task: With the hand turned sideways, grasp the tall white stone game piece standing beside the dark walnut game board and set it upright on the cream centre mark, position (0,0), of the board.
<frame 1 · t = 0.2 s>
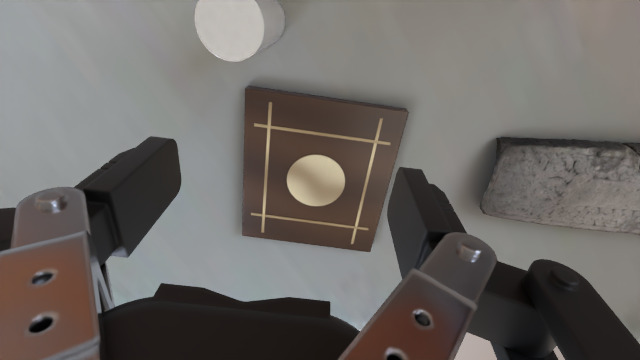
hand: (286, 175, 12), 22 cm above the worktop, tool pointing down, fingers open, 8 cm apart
stone piece: (261, 20, 29), on the worktop
game board: (316, 175, 36), on the worktop
stone slab: (614, 183, 35), on the worktop
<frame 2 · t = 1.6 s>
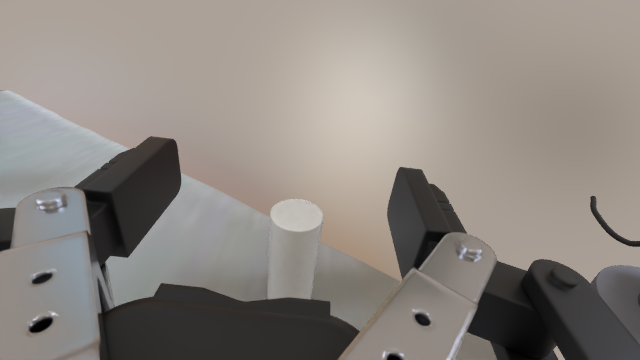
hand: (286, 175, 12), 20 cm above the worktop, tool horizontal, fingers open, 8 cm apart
stone piece: (289, 293, 31), on the worktop
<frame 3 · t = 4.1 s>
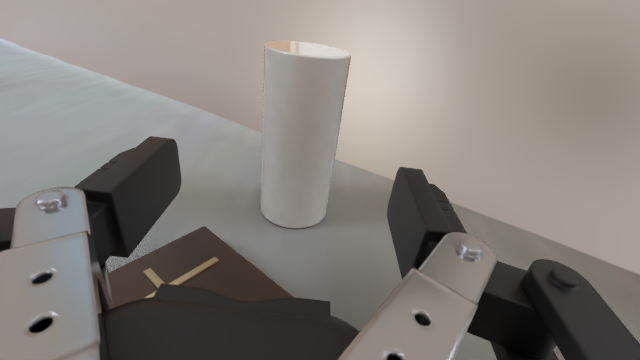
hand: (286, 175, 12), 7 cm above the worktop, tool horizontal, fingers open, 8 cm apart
stone piece: (293, 207, 21), on the worktop
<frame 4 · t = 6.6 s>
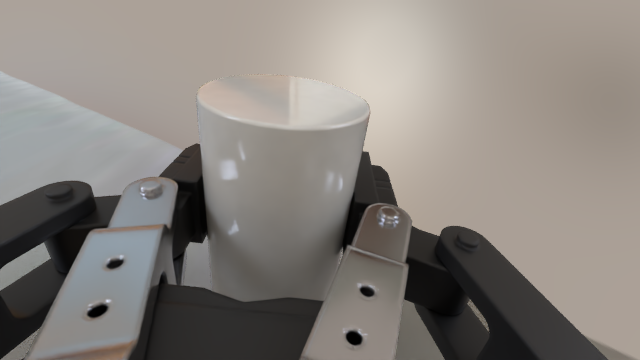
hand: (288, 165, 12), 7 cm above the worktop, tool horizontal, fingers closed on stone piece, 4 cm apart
stone piece: (271, 331, 13), on the worktop, touching gripper
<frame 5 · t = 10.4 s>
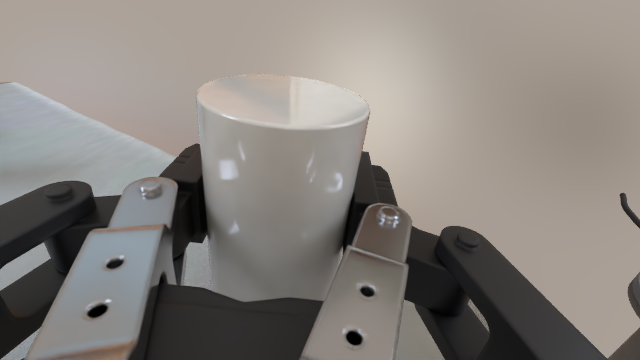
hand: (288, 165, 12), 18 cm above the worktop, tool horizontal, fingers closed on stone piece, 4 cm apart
stone piece: (271, 331, 13), point 11 cm above the worktop, touching gripper
when the fingers open (8 cm above the worktop, at t = 14.2 s): stone piece stays where it is, resting on game board.
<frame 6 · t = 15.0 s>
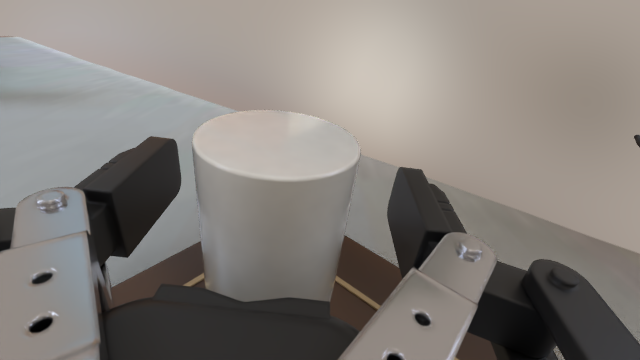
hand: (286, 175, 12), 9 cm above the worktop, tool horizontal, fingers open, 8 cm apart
stone piece: (267, 353, 13), point 1 cm above the worktop, touching game board
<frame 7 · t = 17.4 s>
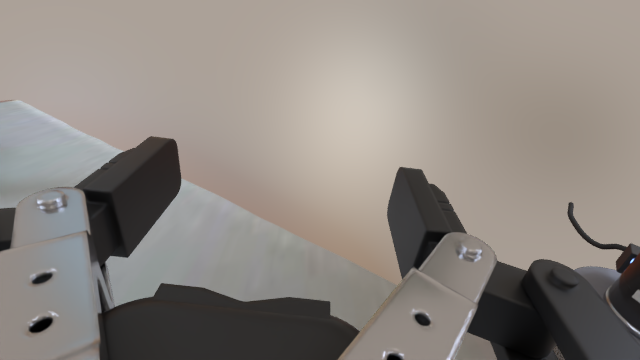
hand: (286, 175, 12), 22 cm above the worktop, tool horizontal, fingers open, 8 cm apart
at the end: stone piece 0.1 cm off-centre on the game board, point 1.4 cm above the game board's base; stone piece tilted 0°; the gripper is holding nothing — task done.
